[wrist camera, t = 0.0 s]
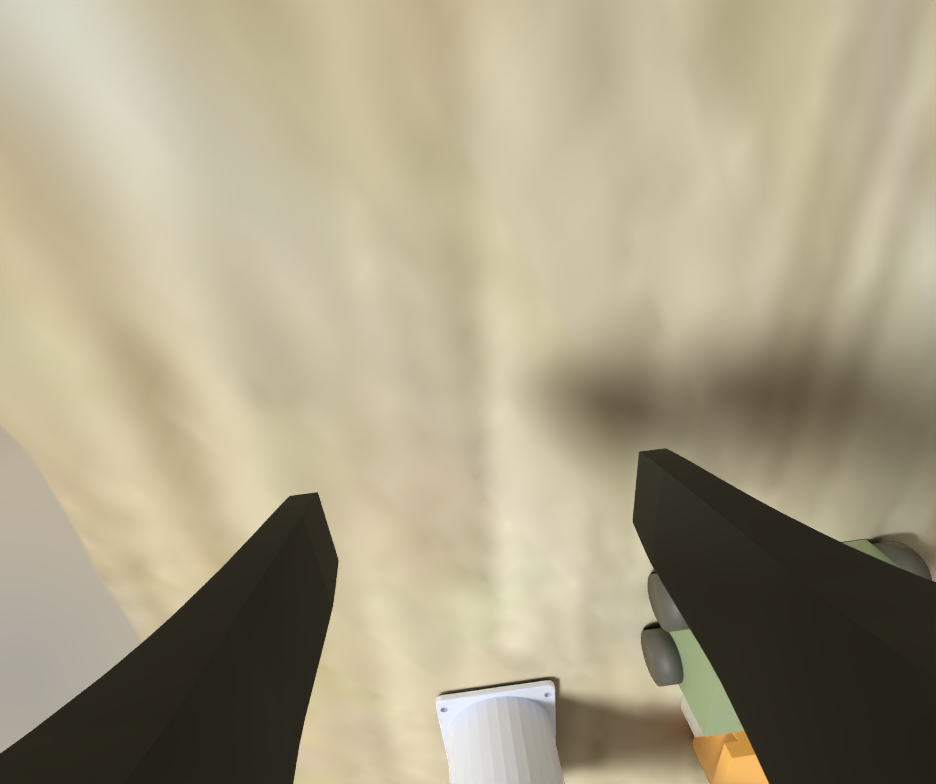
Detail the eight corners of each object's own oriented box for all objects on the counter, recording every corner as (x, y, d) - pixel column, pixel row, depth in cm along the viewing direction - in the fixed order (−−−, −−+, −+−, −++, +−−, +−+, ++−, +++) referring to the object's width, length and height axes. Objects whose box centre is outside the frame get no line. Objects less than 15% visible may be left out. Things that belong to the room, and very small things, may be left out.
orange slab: (755, 736, 35) (795, 805, 31) (681, 747, 35) (712, 818, 31) (777, 674, 31) (825, 744, 28) (694, 686, 31) (732, 758, 27)
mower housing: (820, 686, 33) (937, 838, 26) (631, 714, 33) (693, 877, 25) (888, 530, 26) (1075, 675, 19) (649, 562, 26) (743, 724, 18)
